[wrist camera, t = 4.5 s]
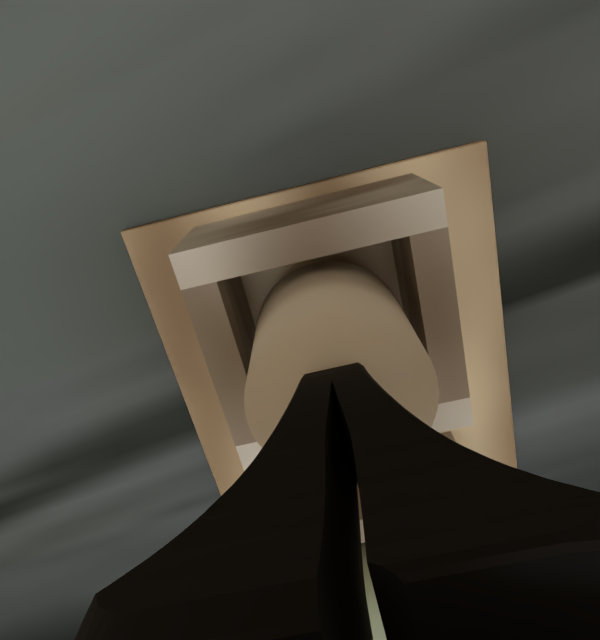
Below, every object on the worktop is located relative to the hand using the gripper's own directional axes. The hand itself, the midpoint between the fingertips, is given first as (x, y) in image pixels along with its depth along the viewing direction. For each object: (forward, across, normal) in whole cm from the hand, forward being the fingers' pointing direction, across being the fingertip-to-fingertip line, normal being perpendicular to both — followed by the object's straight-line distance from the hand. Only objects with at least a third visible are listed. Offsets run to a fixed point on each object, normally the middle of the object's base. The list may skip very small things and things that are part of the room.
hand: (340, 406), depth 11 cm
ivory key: (+4, 0, 0) cm, 4 cm away
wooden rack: (+7, 0, +10) cm, 12 cm away
